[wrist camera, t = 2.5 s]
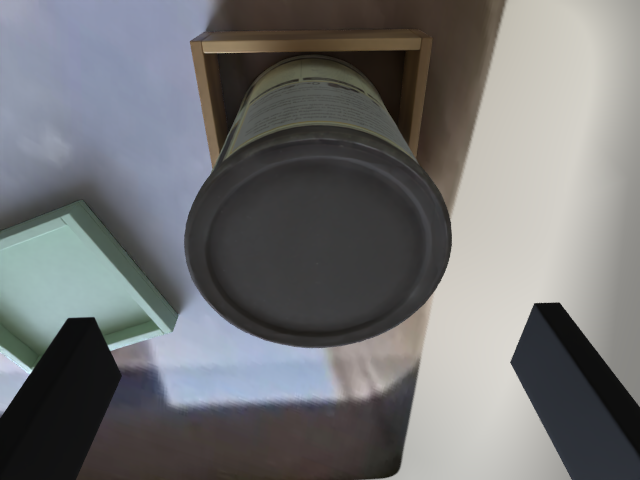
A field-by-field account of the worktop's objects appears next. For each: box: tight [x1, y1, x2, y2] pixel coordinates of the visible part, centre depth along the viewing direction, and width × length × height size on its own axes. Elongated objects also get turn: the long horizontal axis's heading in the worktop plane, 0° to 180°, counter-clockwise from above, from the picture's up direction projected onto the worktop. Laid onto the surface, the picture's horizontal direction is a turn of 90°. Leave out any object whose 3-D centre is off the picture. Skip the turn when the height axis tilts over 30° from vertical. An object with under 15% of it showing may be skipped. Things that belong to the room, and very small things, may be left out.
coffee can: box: [184, 54, 452, 348], centre depth 21 cm, size 10×10×14 cm
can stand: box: [190, 29, 433, 168], centre depth 25 cm, size 13×13×4 cm
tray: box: [0, 200, 178, 375], centre depth 33 cm, size 16×13×2 cm
